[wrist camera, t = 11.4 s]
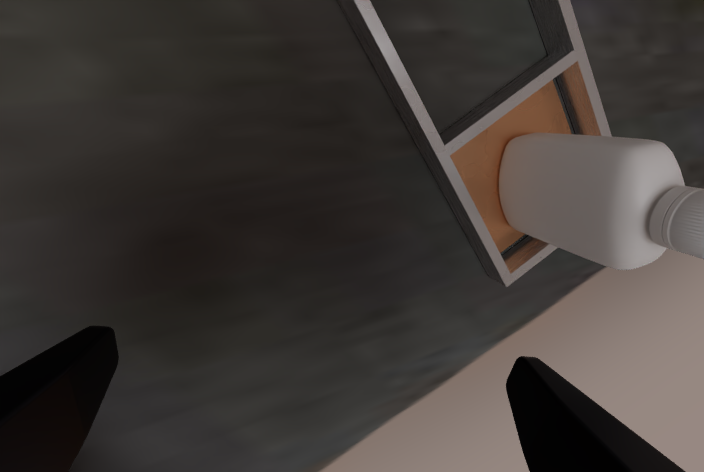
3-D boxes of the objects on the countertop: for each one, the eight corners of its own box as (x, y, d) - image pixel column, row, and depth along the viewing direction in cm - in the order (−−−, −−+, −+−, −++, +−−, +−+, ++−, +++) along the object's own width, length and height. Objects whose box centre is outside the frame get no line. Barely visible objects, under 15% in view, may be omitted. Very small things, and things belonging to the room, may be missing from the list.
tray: (603, 187, 25) (628, 192, 24) (488, 275, 25) (506, 287, 23) (493, -135, 18) (520, -161, 16) (326, -20, 17) (336, -34, 16)
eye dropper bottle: (567, 146, 23) (867, 175, 12) (530, 233, 24) (774, 331, 13) (512, 122, 22) (797, 131, 11) (474, 216, 23) (698, 311, 12)
